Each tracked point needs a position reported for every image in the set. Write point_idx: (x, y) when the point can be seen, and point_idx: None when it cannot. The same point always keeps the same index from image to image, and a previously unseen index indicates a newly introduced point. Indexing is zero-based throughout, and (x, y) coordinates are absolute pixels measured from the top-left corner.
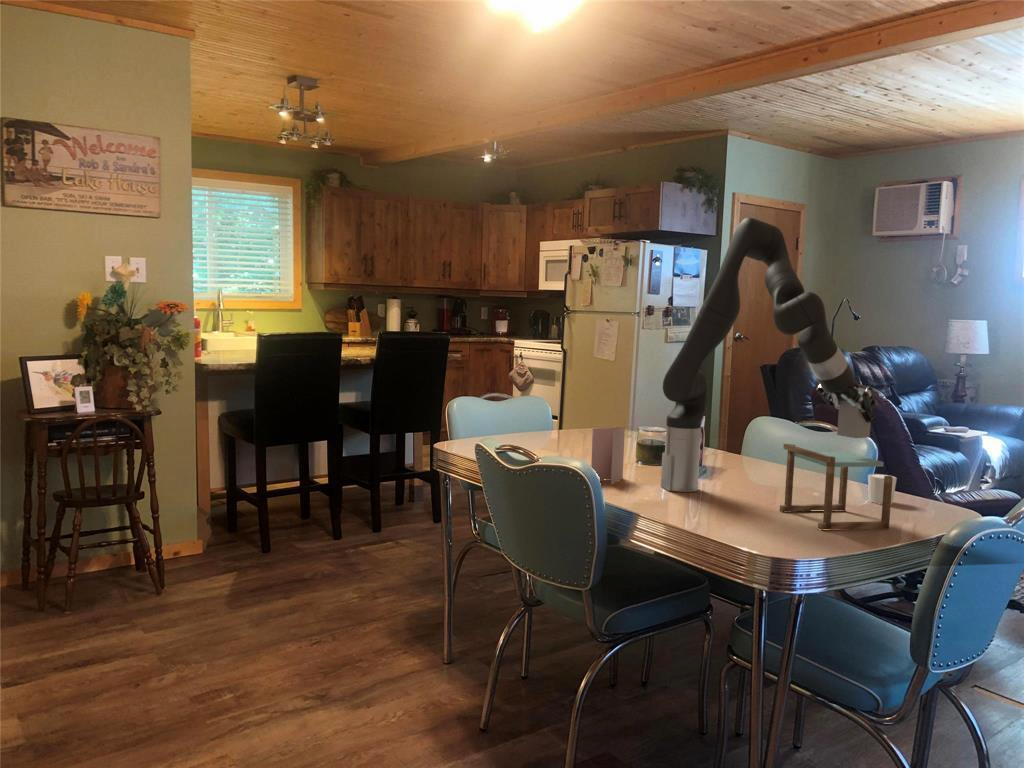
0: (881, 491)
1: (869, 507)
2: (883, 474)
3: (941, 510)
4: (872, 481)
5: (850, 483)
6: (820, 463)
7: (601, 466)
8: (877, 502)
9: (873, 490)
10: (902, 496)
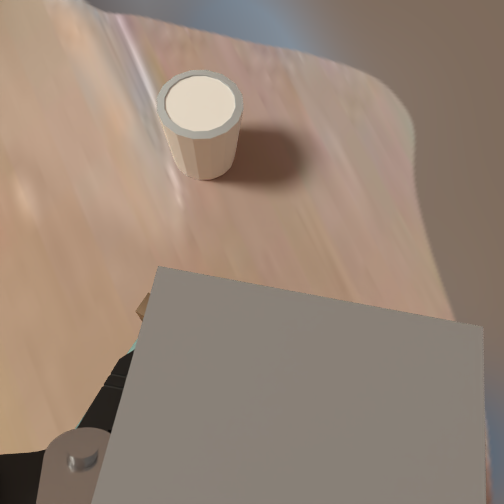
0: (216, 158)
1: (211, 236)
2: (190, 75)
3: (343, 118)
4: (185, 144)
5: (54, 8)
6: None
7: None
8: (207, 177)
9: (192, 160)
10: (212, 48)
